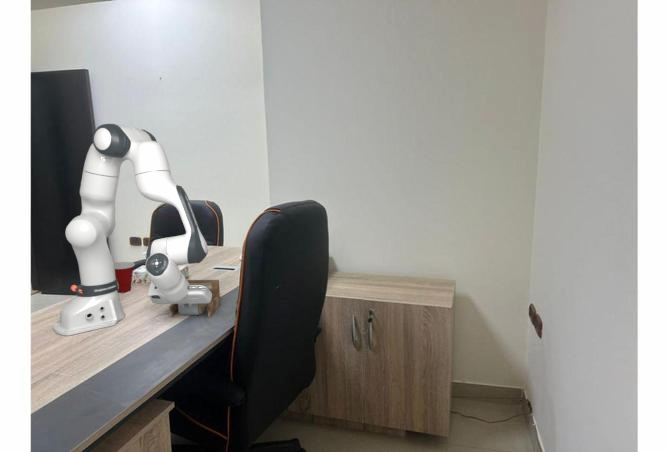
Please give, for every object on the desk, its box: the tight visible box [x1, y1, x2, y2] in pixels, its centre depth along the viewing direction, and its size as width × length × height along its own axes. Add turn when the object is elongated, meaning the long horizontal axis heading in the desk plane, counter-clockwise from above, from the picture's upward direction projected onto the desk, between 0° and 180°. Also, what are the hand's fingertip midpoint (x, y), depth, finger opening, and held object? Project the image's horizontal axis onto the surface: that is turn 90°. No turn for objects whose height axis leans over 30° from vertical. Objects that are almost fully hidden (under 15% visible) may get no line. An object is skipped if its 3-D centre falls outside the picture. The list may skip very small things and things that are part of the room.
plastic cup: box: [114, 261, 136, 294], centre depth 194 cm, size 11×11×12 cm
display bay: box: [169, 279, 221, 318], centre depth 167 cm, size 13×15×10 cm
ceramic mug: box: [178, 303, 207, 316], centre depth 166 cm, size 11×8×8 cm
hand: (188, 305), depth 160 cm, fingers closed
